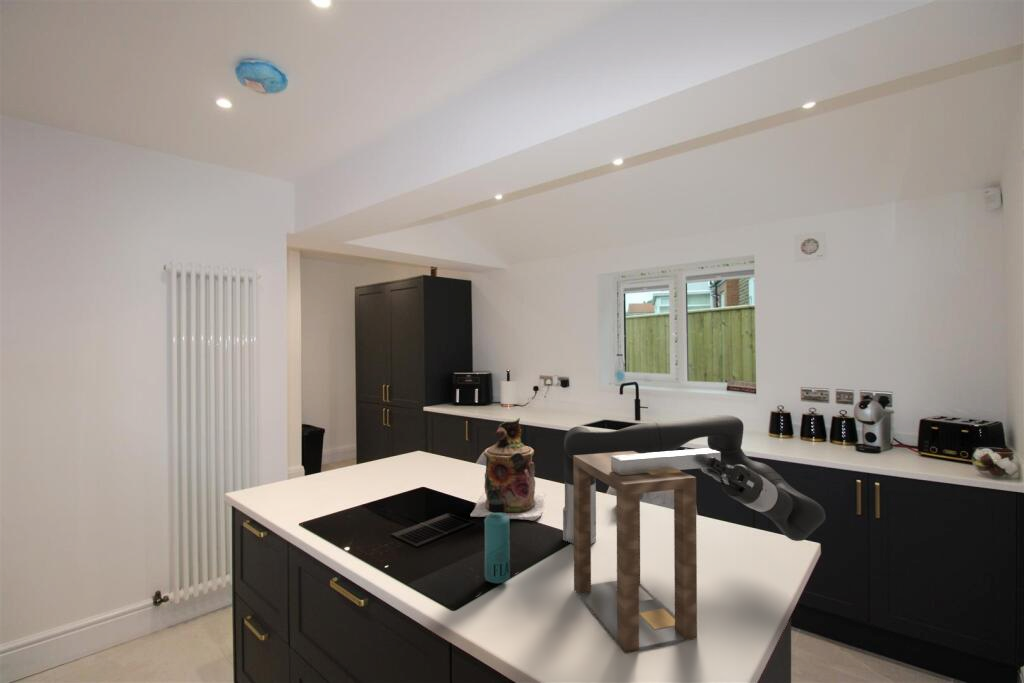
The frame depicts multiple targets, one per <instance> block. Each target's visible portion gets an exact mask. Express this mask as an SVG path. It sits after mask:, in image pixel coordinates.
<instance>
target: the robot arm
mask: <svg viewBox="0 0 1024 683" xmlns="http://www.w3.org/2000/svg"><path fill="white" fill-rule="evenodd" d="M744 427H745V426H744V423H743V420H741V418H738V417H737V416H734V415H728V414H718V415H717V414H716V415H712V416H711V415H709V416H705V417H698V418H693V419H686V420H678V421H665V422H651V423H650V422H648V423H646V422H645V423H640V424H633V425H630V426H627V427H624V428H621V429H617V430H613V431H612V430H611V431H591V430H589V429H588V428H587V427H585V426H574V427H572V428H569V430H567V432H566V433H565V435H564V439H563V465H564V466H563V469H564V470H563V472H564V507H562V508H563V509H562V541H563V540H564V542H567V541H568V543H569V542H570V543H569V544H571V543H572V545H574V478H573V455H586V454H599V453H613V452H626V451H634V452H637V453H639V454H641V453H654V452H667V451H676V450H677V449H679V448H681V447H682V446H684V445H686V444H687V443H689V442H691V441H693V440H696V439H701V438H706V439H707V446H708V448H709V449H712V450H715V451H718V452H721V460H722V461H721V462H720V461H719V460H717V459H715V458H713V457H710V458H709V461H708V463H707V466H708V467H706V468H697V469H699V470H700V471H702V473H704V474H706V475H708V476H710V477H712V478H713V479H714V480H715V481H717V482H720V483H721V487H722V490H723V492H724V493H725V494H726V495H727V496H729V497H730V498H732V499H734V500H736V501H737V502H739V503H741V504H743V505H744V506H745V507H747V508H750V509H752V510H755V511H756V512H759V513H760V514H762V515H764V516H765V517H767V518H768V519H769V520H771V521H772V522H773V523H774V524H775V525H776V527H777V528H778V529H779V530H780V532H782V534H783V535H784V536H785V537H786V538H787V539H790V540H791V541H795V542H802V541H804V540H806V539H807V538H808V537H809V536H810V535H811V534H812V533H813V532H815V530H816V529H817V528H819V527H820V526H821V525H822V524H824V522H825V520H826V518H827V517H826V513H825V512H826V511H825V510H824V508H823V507H822V506H821V504H819V503H818V502H817V501H815V500H814V499H812V498H810V497H808V496H807V495H805V494H803V493H801V492H799V491H798V490H796V489H795V488H793V487H792V486H791V485H790V484H789V483H788V482H787V481H786V480H784V478H783V477H782V476H781V475H780V474H779V473H778V472H777V471H775V470H774V469H773V468H772V467H770V466H769V465H768V464H765V463H763V462H759V461H755V460H752V459H750V458H749V457H748V456H747V455H746V454H745V452H744V451H743V448H742V444H743V437H744ZM683 450H690V448H687V447H686V448H684V449H683ZM596 480H597V478H596V477H594V476H592V475H591V474H590V481H591V545H592V544H594V543H595V542H597V499H596V498H597V491H596V490H597V487H596V486H597V483H596Z"/></svg>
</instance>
